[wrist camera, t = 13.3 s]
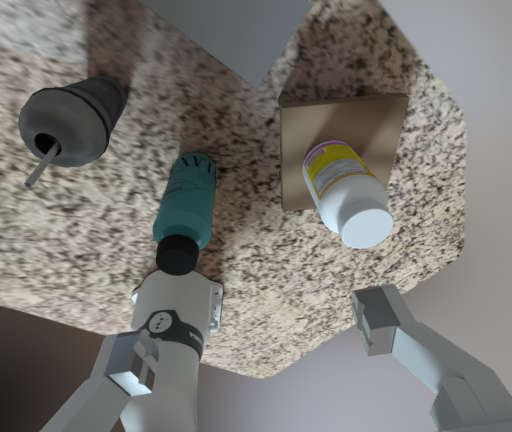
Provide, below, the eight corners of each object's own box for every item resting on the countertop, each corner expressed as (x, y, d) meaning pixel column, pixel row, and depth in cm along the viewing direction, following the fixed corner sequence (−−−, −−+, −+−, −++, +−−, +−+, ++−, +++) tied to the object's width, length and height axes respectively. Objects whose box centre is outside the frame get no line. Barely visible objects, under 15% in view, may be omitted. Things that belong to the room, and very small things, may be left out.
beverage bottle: (226, 161, 44) (224, 257, 28) (202, 192, 46) (188, 294, 31) (188, 136, 41) (162, 227, 25) (165, 170, 44) (128, 270, 28)
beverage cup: (121, 56, 34) (28, 109, 18) (147, 116, 39) (91, 201, 23) (64, 71, 35) (-75, 135, 19) (96, 128, 39) (6, 220, 23)
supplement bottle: (350, 184, 38) (395, 254, 28) (300, 188, 38) (326, 260, 28) (358, 135, 34) (414, 195, 24) (302, 140, 34) (334, 202, 24)
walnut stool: (362, 173, 47) (383, 202, 40) (275, 181, 46) (282, 211, 40) (379, 80, 38) (409, 97, 32) (273, 89, 38) (282, 108, 31)
